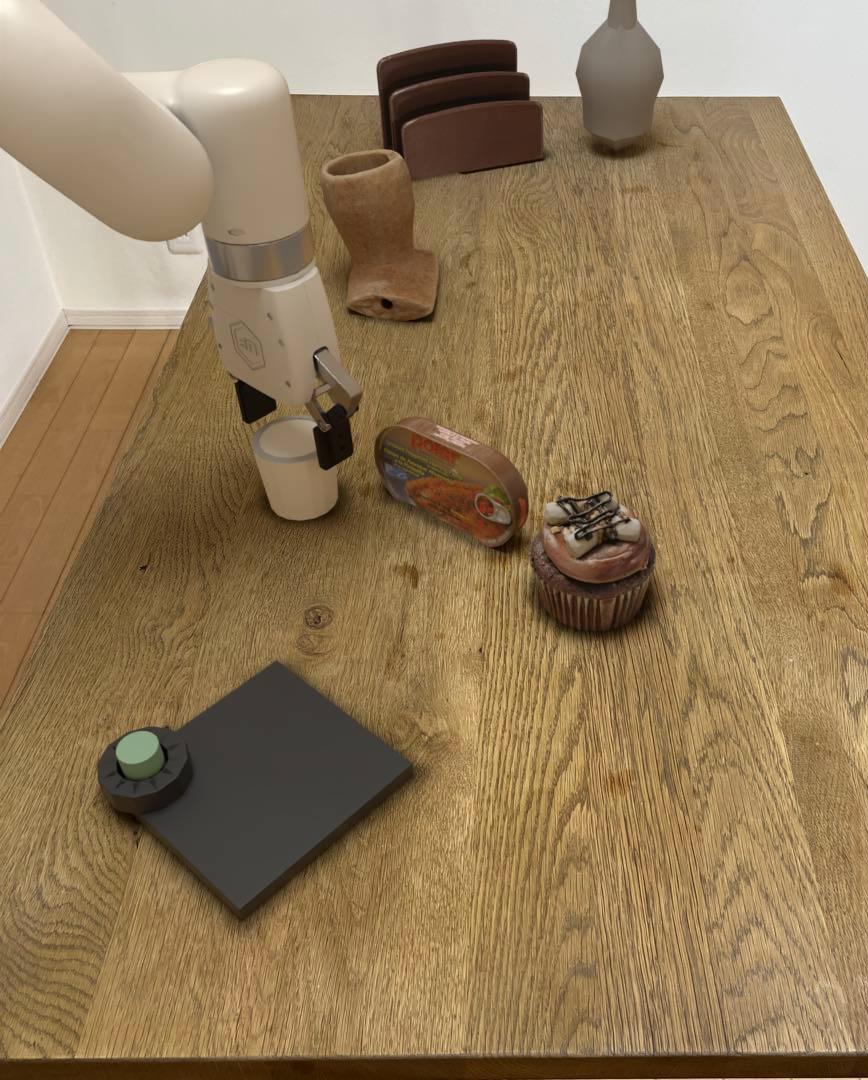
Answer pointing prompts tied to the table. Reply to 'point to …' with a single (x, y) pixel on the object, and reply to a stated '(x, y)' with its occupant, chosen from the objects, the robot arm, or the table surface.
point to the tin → (452, 479)
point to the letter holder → (458, 108)
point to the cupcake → (592, 562)
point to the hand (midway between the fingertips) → (297, 438)
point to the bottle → (619, 78)
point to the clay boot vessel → (380, 235)
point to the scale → (257, 785)
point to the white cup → (294, 469)
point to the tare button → (140, 755)
